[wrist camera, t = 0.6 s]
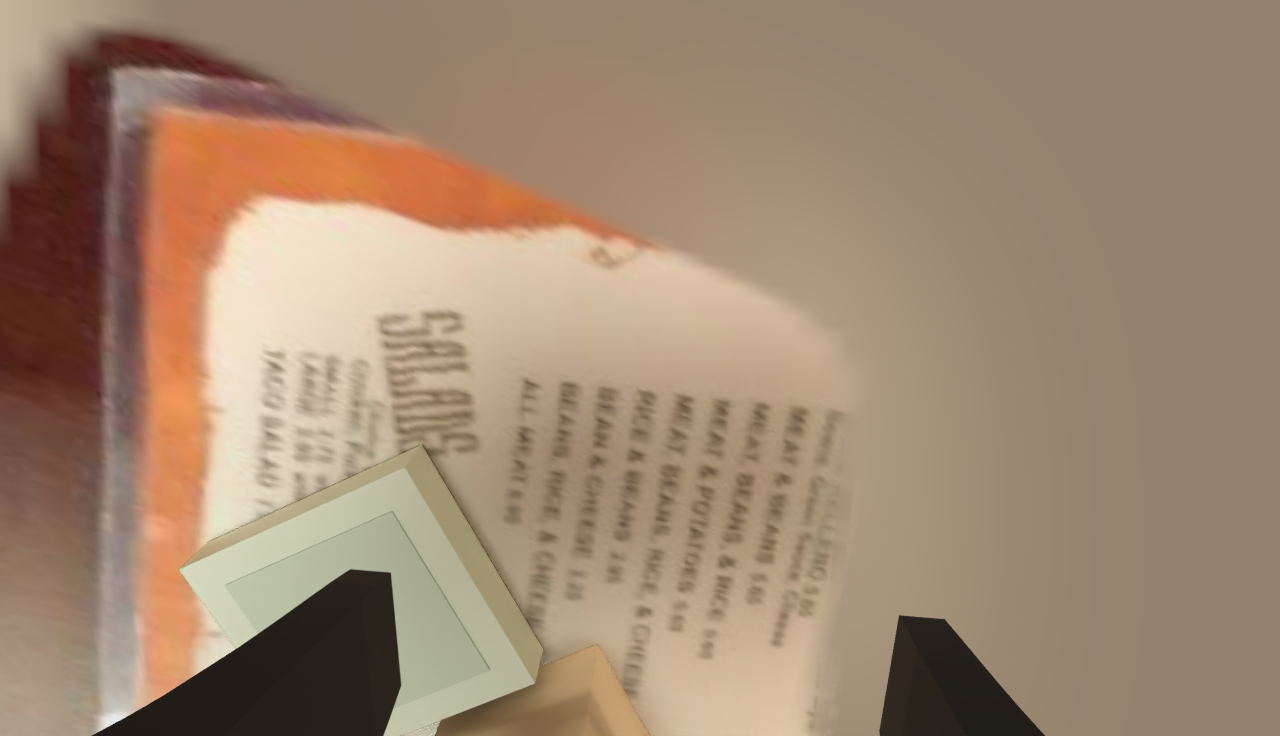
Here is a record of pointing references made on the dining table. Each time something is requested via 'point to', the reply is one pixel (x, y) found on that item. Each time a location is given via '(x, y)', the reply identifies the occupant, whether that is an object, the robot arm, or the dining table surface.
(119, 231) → the dining table surface
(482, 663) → the base
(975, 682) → the robot arm
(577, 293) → the dining table surface
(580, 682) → the block
